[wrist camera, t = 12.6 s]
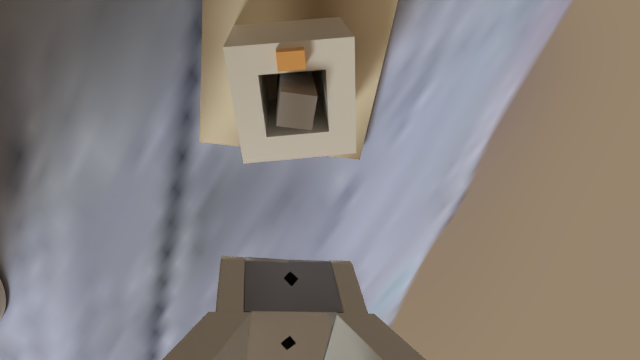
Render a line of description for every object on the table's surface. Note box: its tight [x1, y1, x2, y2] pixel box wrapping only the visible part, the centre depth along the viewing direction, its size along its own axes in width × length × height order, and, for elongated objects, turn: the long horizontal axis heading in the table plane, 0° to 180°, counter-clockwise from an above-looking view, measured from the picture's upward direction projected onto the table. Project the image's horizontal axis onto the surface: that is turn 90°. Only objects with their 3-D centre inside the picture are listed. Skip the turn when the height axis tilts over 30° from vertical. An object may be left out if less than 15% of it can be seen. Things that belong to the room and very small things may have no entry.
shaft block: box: [200, 0, 398, 160], centre depth 21 cm, size 10×10×7 cm
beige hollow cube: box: [223, 17, 356, 164], centre depth 21 cm, size 6×6×6 cm
